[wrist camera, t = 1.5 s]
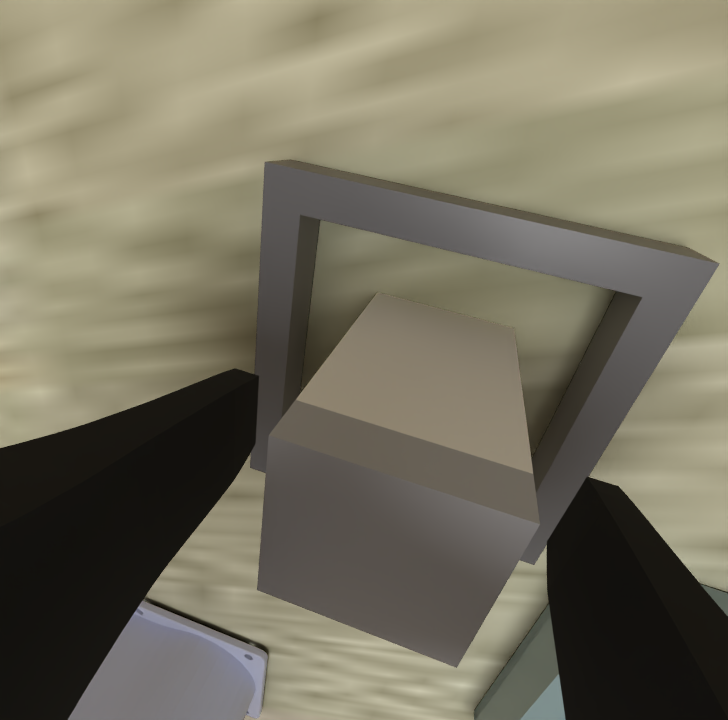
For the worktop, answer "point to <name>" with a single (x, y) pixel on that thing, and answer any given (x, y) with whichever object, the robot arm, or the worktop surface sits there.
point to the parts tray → (538, 676)
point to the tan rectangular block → (403, 479)
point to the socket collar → (495, 243)
